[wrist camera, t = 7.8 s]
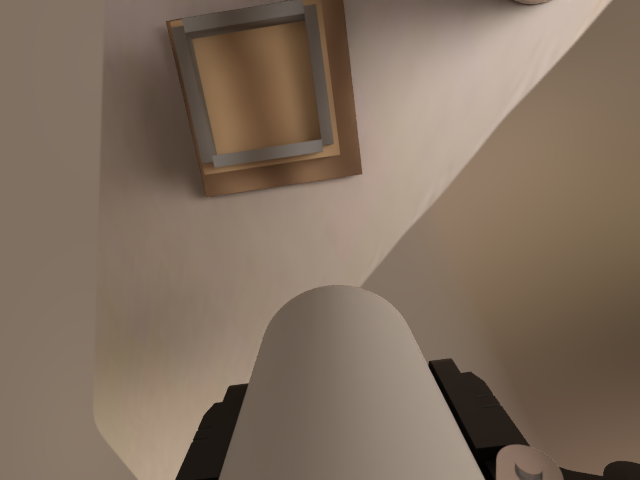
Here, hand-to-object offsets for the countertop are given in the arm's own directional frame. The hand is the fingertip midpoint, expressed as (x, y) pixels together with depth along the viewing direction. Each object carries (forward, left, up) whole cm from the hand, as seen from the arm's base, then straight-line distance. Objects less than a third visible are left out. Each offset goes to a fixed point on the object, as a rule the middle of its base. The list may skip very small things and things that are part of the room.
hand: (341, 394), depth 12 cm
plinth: (+3, -13, -21) cm, 25 cm away
